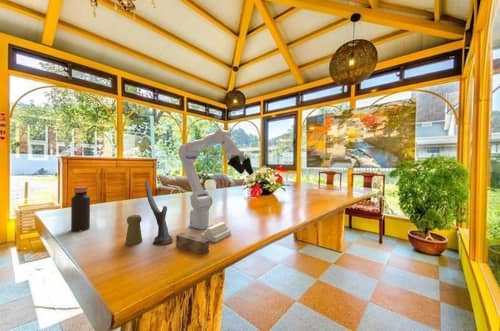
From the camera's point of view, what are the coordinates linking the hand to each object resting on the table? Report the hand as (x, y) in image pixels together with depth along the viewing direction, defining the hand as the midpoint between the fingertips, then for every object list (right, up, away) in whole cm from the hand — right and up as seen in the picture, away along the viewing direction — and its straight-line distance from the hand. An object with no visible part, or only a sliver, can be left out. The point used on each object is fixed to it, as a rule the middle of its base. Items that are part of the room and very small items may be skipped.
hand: (247, 173), depth 88 cm
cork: (-46, -28, -5) cm, 54 cm away
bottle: (-79, -27, +9) cm, 84 cm away
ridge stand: (-14, -29, +4) cm, 32 cm away
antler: (-37, -28, -4) cm, 47 cm away
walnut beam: (-21, -29, -9) cm, 37 cm away
